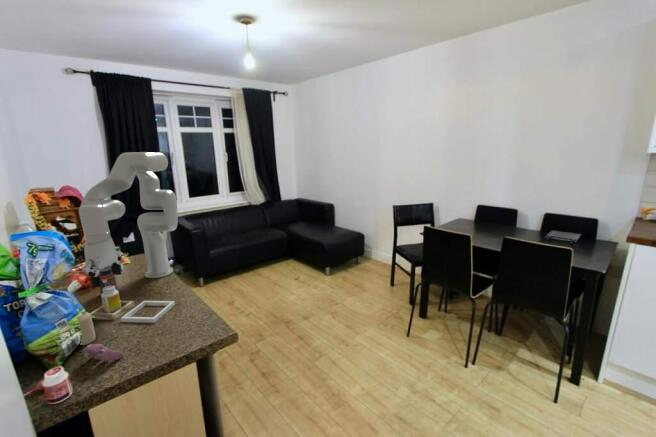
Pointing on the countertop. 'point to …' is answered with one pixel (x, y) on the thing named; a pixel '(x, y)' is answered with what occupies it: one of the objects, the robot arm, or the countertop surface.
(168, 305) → the white flat square frame
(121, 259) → the coffee box
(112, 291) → the supplement bottle
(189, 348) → the countertop surface
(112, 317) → the brown square frame
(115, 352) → the purple toy animal
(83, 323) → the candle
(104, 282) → the supplement bottle
